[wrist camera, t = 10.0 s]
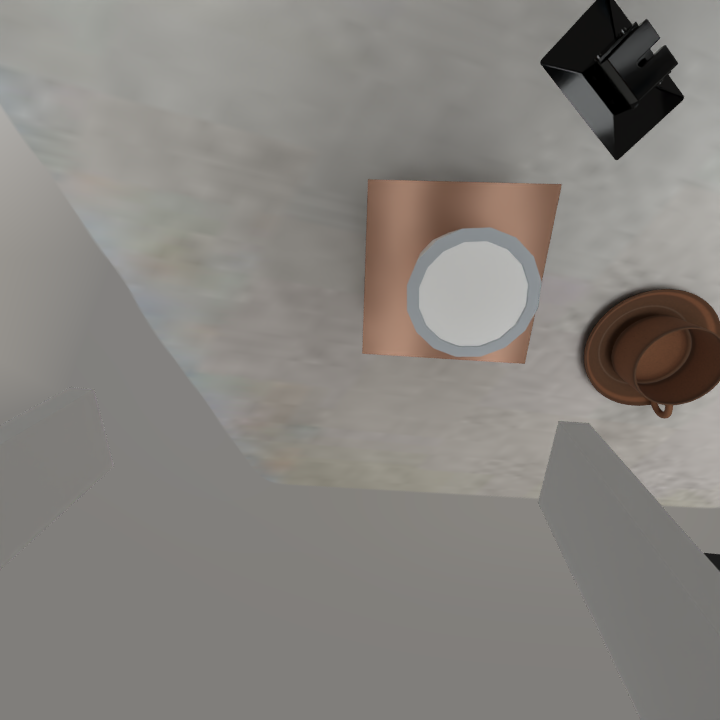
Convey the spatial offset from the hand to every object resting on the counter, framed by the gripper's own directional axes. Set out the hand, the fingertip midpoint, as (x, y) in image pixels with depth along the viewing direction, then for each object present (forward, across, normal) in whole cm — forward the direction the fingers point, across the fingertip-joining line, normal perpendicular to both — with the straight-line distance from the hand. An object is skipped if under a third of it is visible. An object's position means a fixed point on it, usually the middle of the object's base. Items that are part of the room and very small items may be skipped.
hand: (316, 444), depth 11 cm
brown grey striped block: (+30, +6, +2) cm, 31 cm away
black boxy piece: (+30, +18, +16) cm, 39 cm away
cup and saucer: (+30, +27, -6) cm, 41 cm away
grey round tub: (+18, +6, +2) cm, 19 cm away
